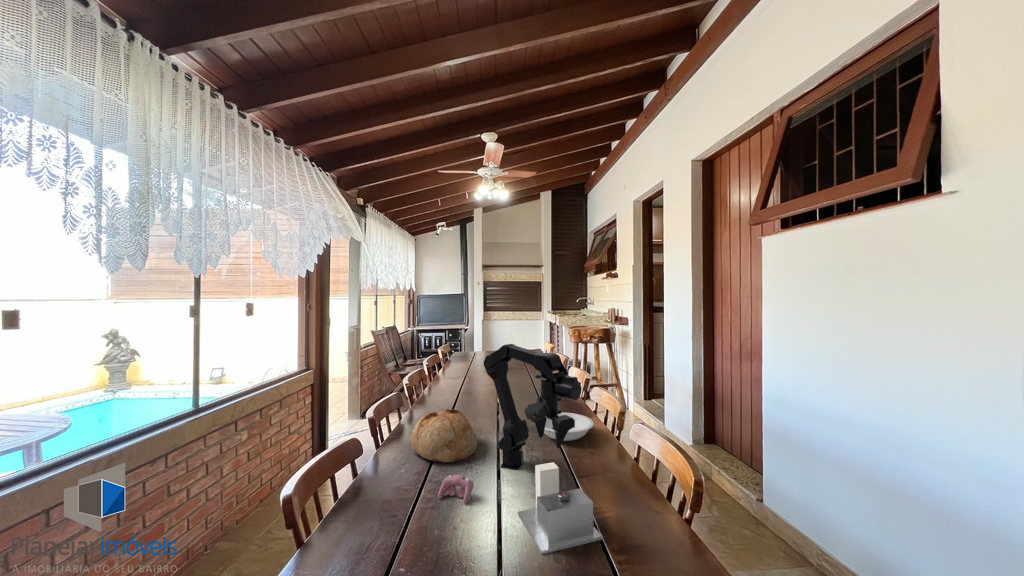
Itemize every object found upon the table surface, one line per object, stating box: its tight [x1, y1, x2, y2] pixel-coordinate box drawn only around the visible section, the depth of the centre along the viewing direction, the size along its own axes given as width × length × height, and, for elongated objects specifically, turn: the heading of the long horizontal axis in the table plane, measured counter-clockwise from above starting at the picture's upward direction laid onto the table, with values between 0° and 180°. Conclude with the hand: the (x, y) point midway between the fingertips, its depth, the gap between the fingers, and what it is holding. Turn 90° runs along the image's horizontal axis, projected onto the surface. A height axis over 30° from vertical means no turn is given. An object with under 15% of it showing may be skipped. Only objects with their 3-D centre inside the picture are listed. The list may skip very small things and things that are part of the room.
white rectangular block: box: [534, 462, 560, 508], centre depth 100 cm, size 10×6×12 cm, turn 18°
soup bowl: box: [544, 411, 595, 442], centre depth 156 cm, size 24×24×7 cm
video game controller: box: [437, 474, 474, 505], centre depth 111 cm, size 10×5×7 cm, turn 71°
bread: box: [409, 408, 478, 464], centre depth 144 cm, size 26×23×15 cm
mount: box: [517, 488, 603, 555], centre depth 97 cm, size 16×16×10 cm
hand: (549, 442), depth 120 cm, fingers open, 9 cm apart
